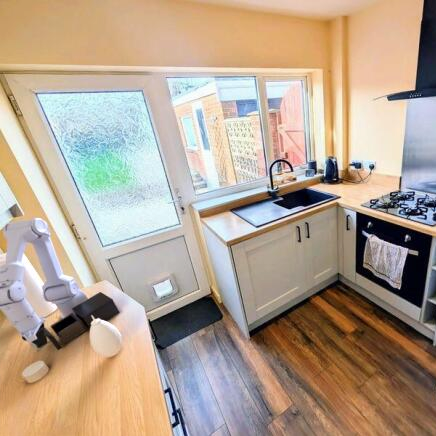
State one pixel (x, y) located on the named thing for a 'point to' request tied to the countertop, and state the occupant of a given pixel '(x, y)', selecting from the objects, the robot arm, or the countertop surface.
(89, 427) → the countertop surface
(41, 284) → the cylinder container
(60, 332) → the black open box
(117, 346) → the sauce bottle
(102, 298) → the black drawer box
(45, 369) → the grey short cylinder
